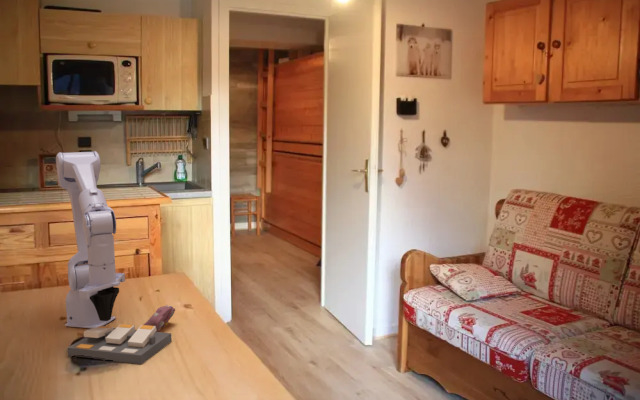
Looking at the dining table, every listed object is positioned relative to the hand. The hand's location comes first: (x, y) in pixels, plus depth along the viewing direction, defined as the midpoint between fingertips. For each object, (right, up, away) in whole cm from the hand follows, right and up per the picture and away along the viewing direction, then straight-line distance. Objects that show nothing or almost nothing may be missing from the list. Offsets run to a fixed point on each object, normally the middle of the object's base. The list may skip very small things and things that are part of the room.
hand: (105, 319), depth 132 cm
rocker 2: (+5, -2, -4) cm, 6 cm away
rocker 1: (-1, -2, -2) cm, 3 cm away
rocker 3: (+10, -3, -5) cm, 12 cm away
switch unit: (+5, -6, -3) cm, 8 cm away
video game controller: (+10, -5, +9) cm, 14 cm away
